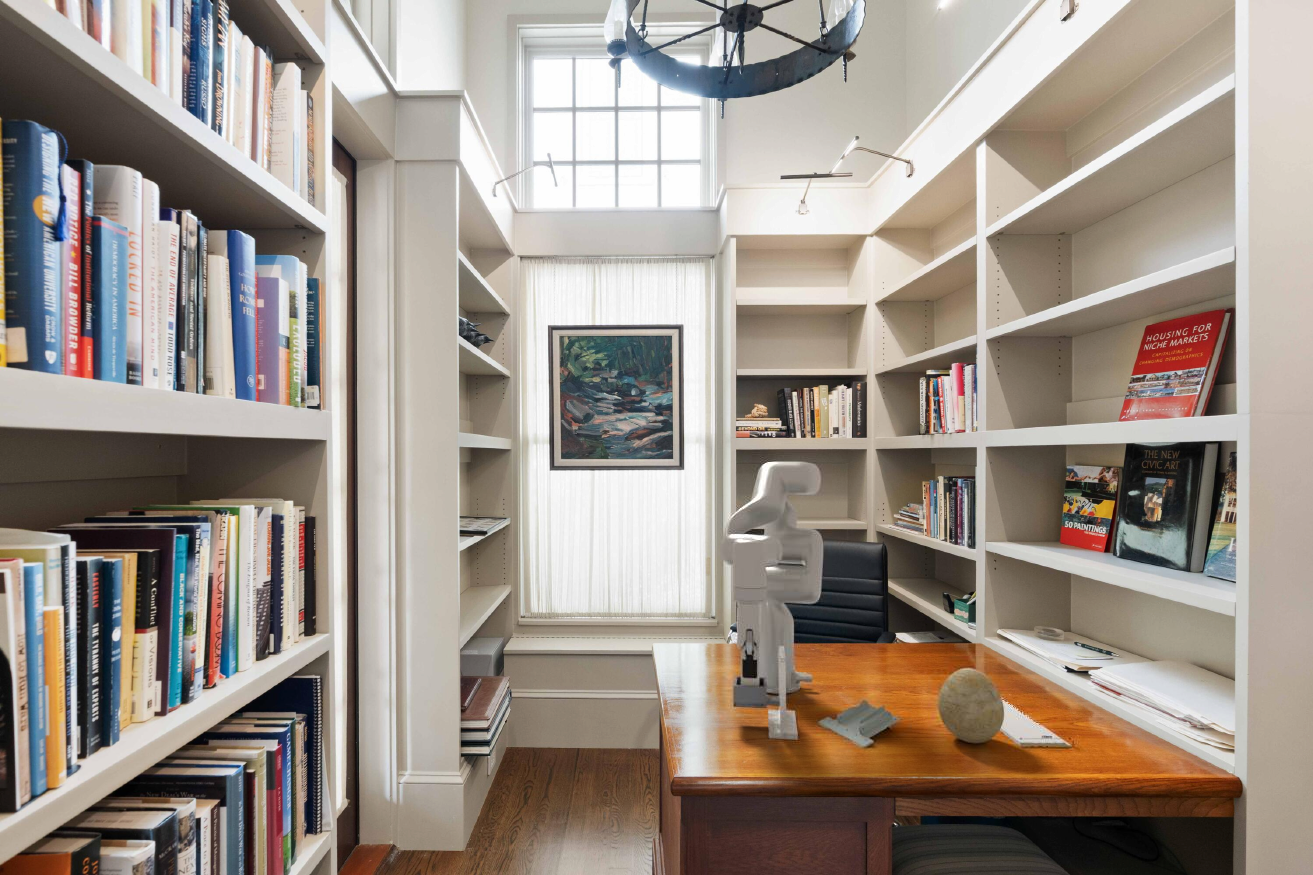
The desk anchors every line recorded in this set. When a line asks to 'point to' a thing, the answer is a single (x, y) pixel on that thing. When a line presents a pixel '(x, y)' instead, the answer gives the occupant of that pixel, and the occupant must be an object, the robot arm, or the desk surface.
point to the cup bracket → (769, 702)
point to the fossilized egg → (971, 706)
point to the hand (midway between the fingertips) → (750, 671)
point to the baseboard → (1027, 730)
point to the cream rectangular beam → (750, 680)
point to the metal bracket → (860, 723)
